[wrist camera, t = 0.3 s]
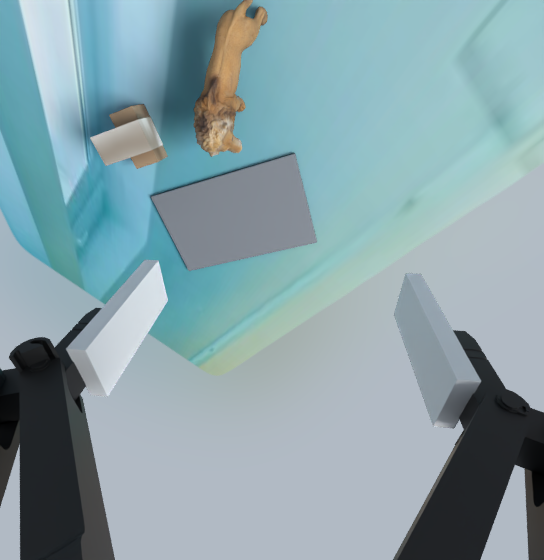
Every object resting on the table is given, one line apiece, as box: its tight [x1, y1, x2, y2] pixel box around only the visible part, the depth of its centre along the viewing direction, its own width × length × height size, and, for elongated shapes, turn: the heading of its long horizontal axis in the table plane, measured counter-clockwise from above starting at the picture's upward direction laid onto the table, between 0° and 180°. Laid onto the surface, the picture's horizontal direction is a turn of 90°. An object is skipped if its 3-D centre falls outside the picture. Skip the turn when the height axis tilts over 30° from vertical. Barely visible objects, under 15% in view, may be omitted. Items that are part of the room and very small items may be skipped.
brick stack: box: [90, 104, 168, 169], centre depth 35 cm, size 6×6×6 cm
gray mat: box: [151, 153, 317, 271], centre depth 42 cm, size 12×20×1 cm, turn 107°
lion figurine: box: [194, 0, 267, 157], centre depth 29 cm, size 15×5×9 cm, turn 169°
